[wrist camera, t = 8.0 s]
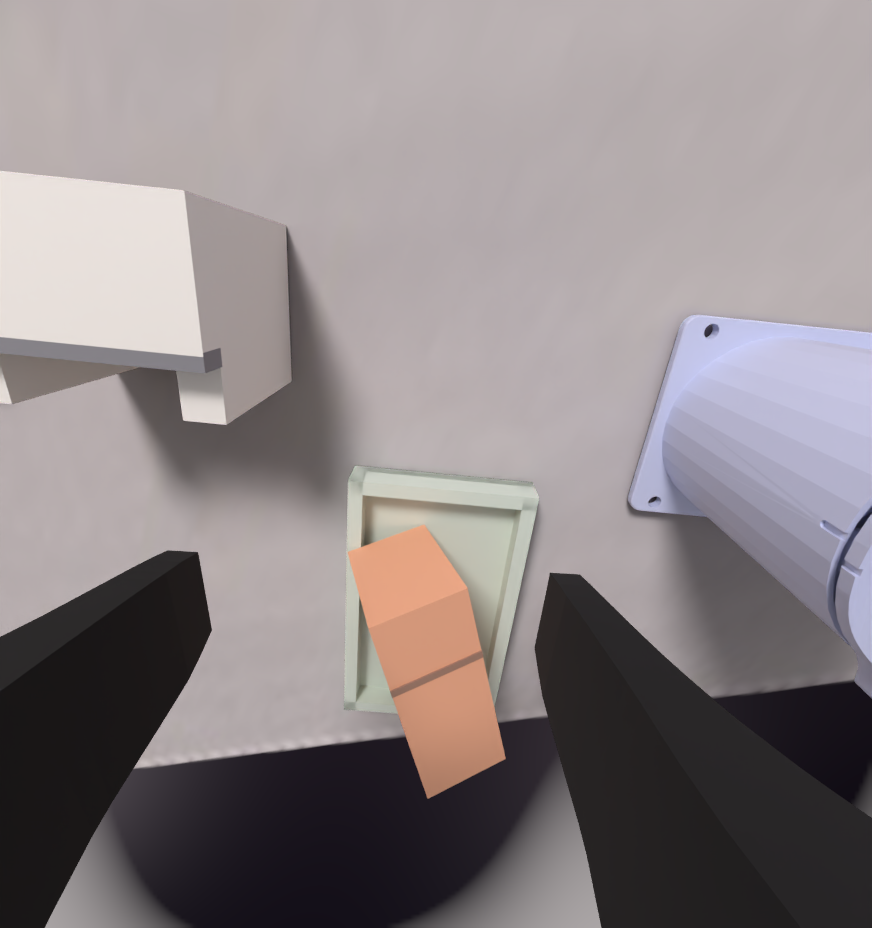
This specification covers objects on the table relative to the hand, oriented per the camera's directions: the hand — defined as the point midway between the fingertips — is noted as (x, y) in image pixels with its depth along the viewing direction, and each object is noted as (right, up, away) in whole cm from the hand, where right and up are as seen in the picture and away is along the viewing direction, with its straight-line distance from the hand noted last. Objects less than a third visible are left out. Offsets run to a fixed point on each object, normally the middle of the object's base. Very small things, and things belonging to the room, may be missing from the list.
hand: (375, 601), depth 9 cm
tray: (+1, -4, +12) cm, 13 cm away
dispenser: (-8, +9, +7) cm, 14 cm away
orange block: (0, -4, +11) cm, 12 cm away
